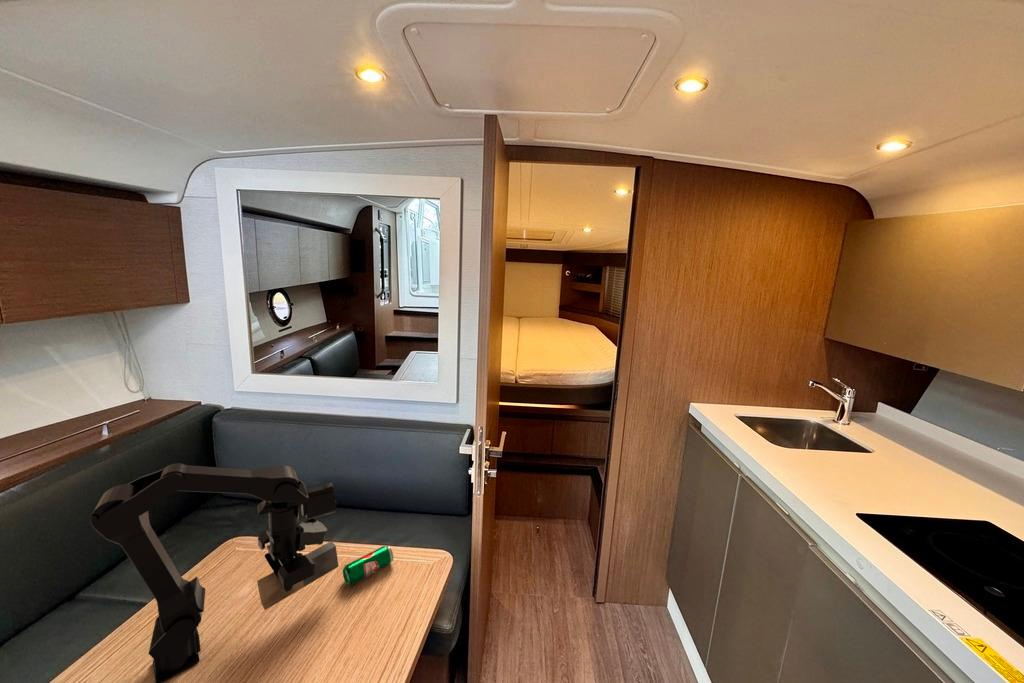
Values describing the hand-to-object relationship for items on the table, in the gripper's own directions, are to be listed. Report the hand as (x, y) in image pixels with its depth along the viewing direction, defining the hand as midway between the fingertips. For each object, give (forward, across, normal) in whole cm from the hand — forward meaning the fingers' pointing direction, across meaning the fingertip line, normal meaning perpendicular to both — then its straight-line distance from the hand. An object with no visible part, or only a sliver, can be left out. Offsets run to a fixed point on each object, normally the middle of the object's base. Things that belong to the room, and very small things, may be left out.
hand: (286, 586), depth 87 cm
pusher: (+1, 0, -3) cm, 3 cm away
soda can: (+5, -1, -13) cm, 14 cm away
